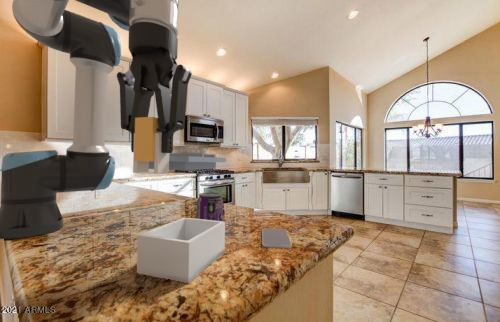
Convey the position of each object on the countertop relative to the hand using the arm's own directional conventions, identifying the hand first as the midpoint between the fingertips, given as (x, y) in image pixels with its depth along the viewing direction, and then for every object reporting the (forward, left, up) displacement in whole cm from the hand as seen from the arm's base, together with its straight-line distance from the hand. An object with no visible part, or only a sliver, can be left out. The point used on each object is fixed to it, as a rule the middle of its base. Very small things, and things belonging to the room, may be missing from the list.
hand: (151, 172), depth 39 cm
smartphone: (+15, +32, -20) cm, 40 cm away
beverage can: (-2, +26, -19) cm, 32 cm away
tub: (0, +10, -19) cm, 22 cm away
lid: (0, +8, 0) cm, 8 cm away
